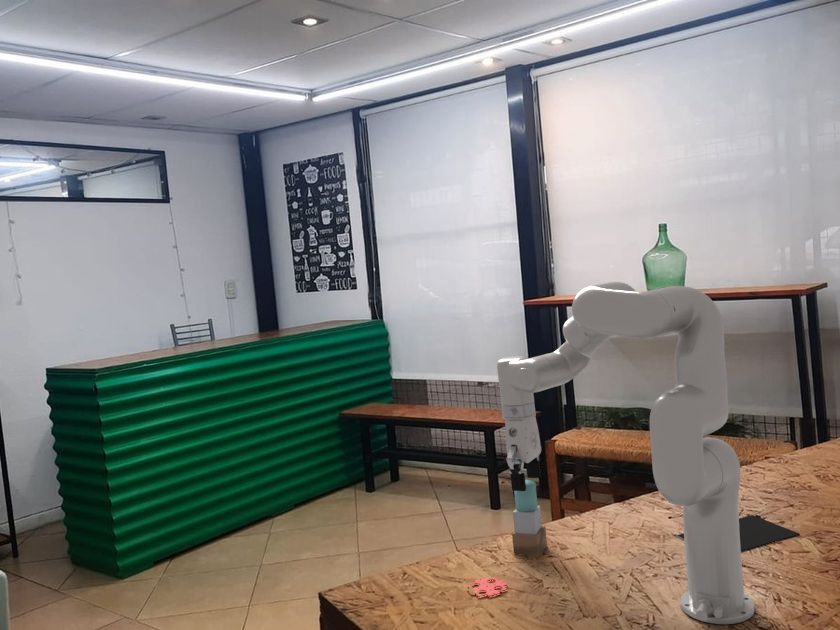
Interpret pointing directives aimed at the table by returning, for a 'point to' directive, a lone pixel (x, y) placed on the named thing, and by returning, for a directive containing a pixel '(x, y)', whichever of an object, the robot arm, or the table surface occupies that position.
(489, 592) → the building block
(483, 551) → the table surface
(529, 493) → the teal cylinder
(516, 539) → the walnut base block
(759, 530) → the black flat plate
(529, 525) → the grey top block
